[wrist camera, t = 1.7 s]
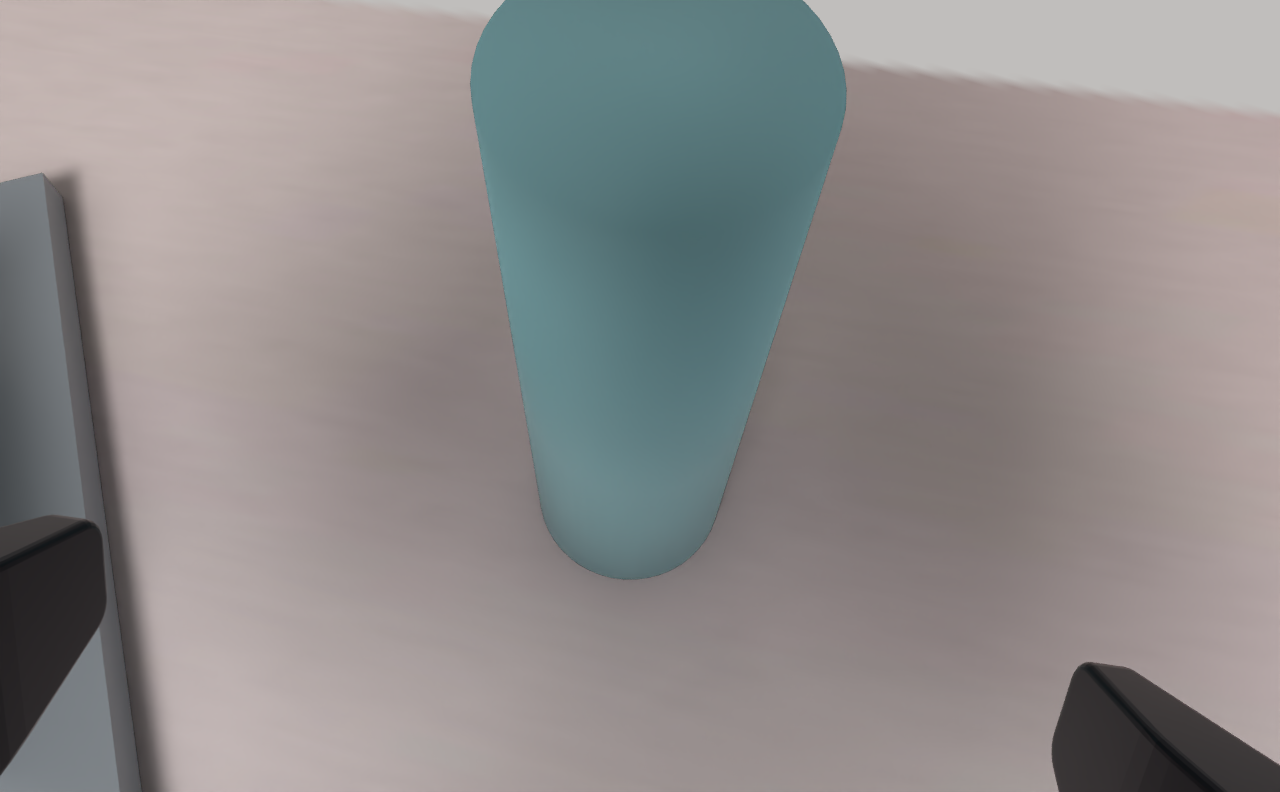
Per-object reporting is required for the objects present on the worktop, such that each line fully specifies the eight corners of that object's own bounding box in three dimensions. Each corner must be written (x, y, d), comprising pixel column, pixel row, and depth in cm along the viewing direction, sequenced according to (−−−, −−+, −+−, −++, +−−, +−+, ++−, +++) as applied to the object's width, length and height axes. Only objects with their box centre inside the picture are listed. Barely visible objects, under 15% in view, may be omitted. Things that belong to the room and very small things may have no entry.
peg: (745, 546, 22) (909, 176, 10) (571, 604, 21) (532, 279, 10) (682, 390, 24) (761, -87, 12) (518, 440, 23) (429, -13, 11)
